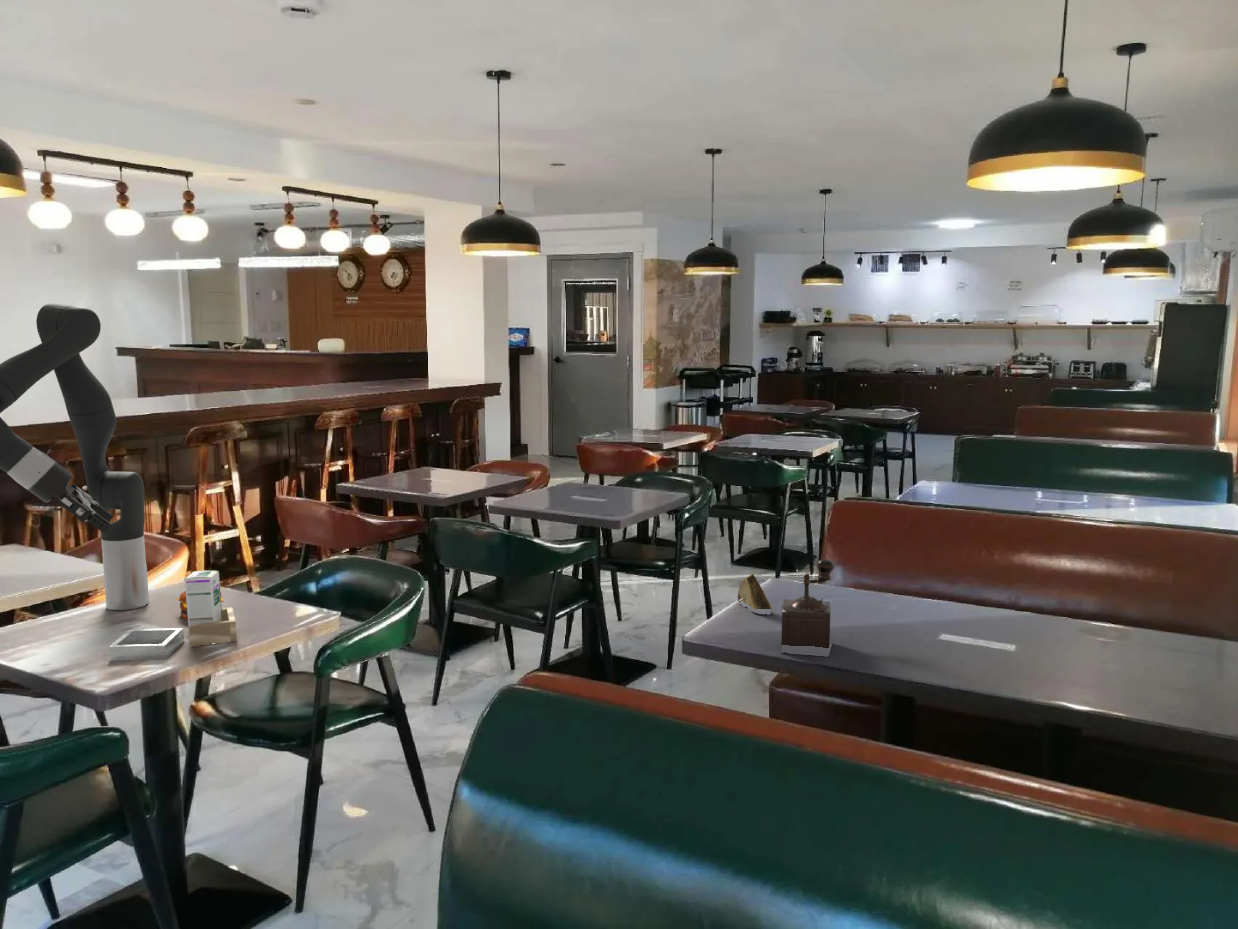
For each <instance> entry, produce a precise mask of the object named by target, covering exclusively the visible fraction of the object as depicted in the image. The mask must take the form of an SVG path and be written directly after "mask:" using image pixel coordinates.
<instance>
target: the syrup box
mask: <svg viewBox="0 0 1238 929" xmlns="http://www.w3.org/2000/svg"><path fill="white" fill-rule="evenodd" d="M184 586H185V587H184V588H185V591H186V602H187V615H188V620H187V623H188V624H187V626H188V628H189V625H196V624H204V623H213V622H221V621H222V608H223V607H222V602H221V598H222V593H221V594H220V592H221V583H220V572H219V570H211V569H210V570H209V569H208V570H205V569H204V570H196V571H192V572H191V573H190V574H189V575H188V576H187V577H185V579H184ZM188 637H189V640H190V631H189V630H188Z"/></svg>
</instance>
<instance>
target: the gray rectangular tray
mask: <svg viewBox="0 0 1238 929" xmlns="http://www.w3.org/2000/svg"><path fill="white" fill-rule="evenodd" d="M184 638H185V635H184V627H180V628H179V627H177V628H175V627H173V628H172V627H171V628H170V627H168V628H140V629H139V628H137V629H136V628H135V629H129V630H128V631H127V632H125V633H124V634H123V635H122V636H119V638H118V639H116V640H115V641H114V642H113V643H111V644H110V645H109V646H108V656H109V661H110V662H113V661H141V660H140V659H152V660H166V659H167V658H169V656H171V655H172V654H173V653H174V652H175V651H176V650H177V649H178V648H179V647H180V646H181V645H182V644H183V643H184V642H183V641H185V639H184ZM182 642H183V643H182ZM151 643H159V644H151ZM181 643H182V644H181ZM180 644H181V645H180ZM179 645H180V646H179ZM178 646H179V647H178ZM177 647H178V648H177ZM176 648H177V649H176ZM175 649H176V650H175ZM174 650H175V651H174ZM173 651H174V652H173ZM172 652H173V653H172ZM171 653H172V654H171Z"/></svg>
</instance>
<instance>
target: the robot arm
mask: <svg viewBox="0 0 1238 929" xmlns="http://www.w3.org/2000/svg"><path fill="white" fill-rule="evenodd" d="M35 322H36V329H37V334H38V337H39V339H40V341H41V343H39V344H38V345H36V346H34V347H32V348H29V349H27V350H25V351H22V352H20V353H18V354H16V355H14V356H11V357H9V358H8V359H6V360H5V361H3V362H1V363H0V414H1V413H2V412H4V411H5V410H7V409H8V408H9V407H10V406H12V405H13V404H14V403H15V402H17V401H18V400H19V398H20V397H22V396H23V395H24V394H25V393H26V392H27V391H28V390H29V389H31V388H32V386H34V385H35V384H37V382H39V381H40V380H41V379H42V378H44V377H45V376H47V375H48V374H49V373H50V374H51V372H52V371H53V372H54V374H55V377H56V380H57V383H58V386H59V388H60V391H61V394H62V397H63V401H64V404H65V408H66V409H65V410H66V412H67V415H68V418H69V423H70V425H71V426H72V430H73V432H74V436H75V439H76V442H77V447H78V449H79V453H80V456H81V460H82V466H83V469H84V470H83V471H84V476H85V482H86V486H87V490H88V493H87V492H86V491H84V490H83V489H82V488H80V487H79V486H78V485H77V484H74V483H71V484H69V483H70V482H71V480H73V478H74V474H73V473H72V472H71V471H69V470H67V469H66V468H65V467H64V466H62V465H61V464H59V463H58V462H57V461H55V460H54V459H52V458H51V456H49V455H47V454H46V453H45V452H43V451H42V450H39V449H38V448H36V447H34V446H33V445H32V444H31V443H29V442H28V441H27V440H25V439H24V438H22V437H21V436H20V435H18V434H16V433H15V432H14V431H13V430H12V428H11V427H10V426H9V425H8V424H7V422H5V420H4V419H3V418H2V417H1V416H0V470H2V472H5V473H6V474H7V475H8V476H10V478H11V479H13V480H14V481H15V482H16V483H17V484H19V485H20V486H22V487H23V488H24V489H26V490H27V491H29V492H30V493H31V494H32V495H34V496H36V497H37V498H38V499H40V500H41V501H43V503H49V502H50V501H51V500H53V499H54V498H57V499H58V500H59V501H58V502H57V503H58V505H59V506H60V507H62V508H63V509H64V510H66V511H67V512H69V513H70V514H71V515H72V516H74V517H76V518H77V519H78V520H79V521H80V522H83V523H84V522H86V523H89V524H91V525H92V526H94V528H96V529H98V530H99V531H100V538H101V539H100V541H101V551H102V553H101V555H102V566H103V567H102V568H103V577H104V578H103V581H104V593H105V594H104V595H105V596H104V597H105V606H106V607H107V608H106V609H107V610H110V611H127V610H134V609H139V608H142V607H144V606H146V604H147V605H148V604H149V600H150V596H149V580H148V567H147V566H148V564H147V560H146V547H145V531H144V530H145V521H146V518H145V517H146V514H145V512H146V511H145V506H146V505H145V497H146V496H145V484H144V480H143V478H142V476H141V475H140V474H139V473H138V472H135V471H111V470H109V468H108V465H107V460H106V452H107V449H108V446H109V443H110V441H111V440H112V438H113V435H114V433H115V430H116V426H117V417H116V413H115V409H114V406H113V405H114V404H113V402H112V399H111V397H110V394H109V392H108V391H107V390H106V387H105V386H104V385H103V384H102V383H101V381H100V380H99V379H98V377H96V375H94V373H93V372H92V371H91V370H90V369H89V368H88V366H87V365H86V363H85V362H84V360H83V358H82V355H81V354H80V353H81V352H83V351H85V350H86V349H88V348H89V347H90V346H92V345H93V344H94V343H95V342H96V341H97V340H98V338H99V336H100V333H101V320H100V318H99V315H97V313H96V312H95V311H94V310H92V309H90V308H87V307H84V306H80V305H73V304H63V303H47V304H45V305H43V306H41V308H40V309H39V311H38V312H37V315H36V321H35ZM108 510H116V511H118V510H119V511H120V510H121V512H120V518H119V519H118V520H116V521H113V522H110V521H111V520H112V519H113V514H111V513H110V512H109V511H108ZM148 599H149V600H148Z"/></svg>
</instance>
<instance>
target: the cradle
mask: <svg viewBox="0 0 1238 929" xmlns="http://www.w3.org/2000/svg"><path fill="white" fill-rule="evenodd" d="M221 608H222V621H221V622H213V623H204V624H196V625H189V627H188V632H189V631H190V639H189V642H190V644H189V645H190V646H195V647H201V646H200V645H203V646H208V645H207V644H211V645H213V644H212V643H219V644H225V642H226V643H232V642H231V641H234V642H237V640H238V638H237V625H236V624H237V622H236V617H235V613H234V612H235V611H234V609H233V606H230V607H221ZM205 644H206V645H205Z"/></svg>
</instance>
